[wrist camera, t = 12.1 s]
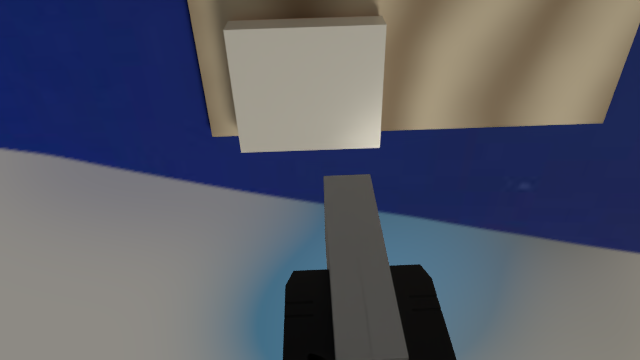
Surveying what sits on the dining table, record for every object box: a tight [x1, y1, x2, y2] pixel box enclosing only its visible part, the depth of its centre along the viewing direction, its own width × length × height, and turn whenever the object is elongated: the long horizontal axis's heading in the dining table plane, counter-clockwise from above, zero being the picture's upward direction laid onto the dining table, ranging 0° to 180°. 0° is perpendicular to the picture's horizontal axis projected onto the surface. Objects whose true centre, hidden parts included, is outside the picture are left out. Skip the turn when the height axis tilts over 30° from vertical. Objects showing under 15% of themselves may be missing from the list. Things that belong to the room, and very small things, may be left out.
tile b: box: [223, 16, 387, 153], centre depth 25 cm, size 2×7×8 cm
